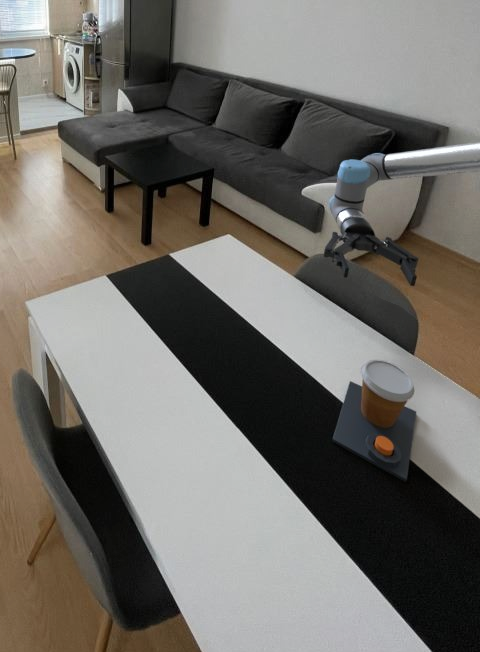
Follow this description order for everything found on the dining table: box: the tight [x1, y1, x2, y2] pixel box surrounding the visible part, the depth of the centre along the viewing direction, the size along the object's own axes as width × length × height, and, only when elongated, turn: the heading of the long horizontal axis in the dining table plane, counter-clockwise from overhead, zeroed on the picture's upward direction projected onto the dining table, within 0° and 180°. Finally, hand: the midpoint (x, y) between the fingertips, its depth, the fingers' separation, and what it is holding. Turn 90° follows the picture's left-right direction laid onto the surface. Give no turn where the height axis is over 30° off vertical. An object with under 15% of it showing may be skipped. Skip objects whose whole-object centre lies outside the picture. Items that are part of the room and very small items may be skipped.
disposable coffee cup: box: [360, 359, 416, 428], centre depth 94 cm, size 10×10×12 cm
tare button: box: [375, 436, 394, 456], centre depth 88 cm, size 3×3×2 cm
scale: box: [331, 380, 417, 483], centre depth 94 cm, size 18×13×4 cm
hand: (379, 277), depth 100 cm, fingers open, 13 cm apart
